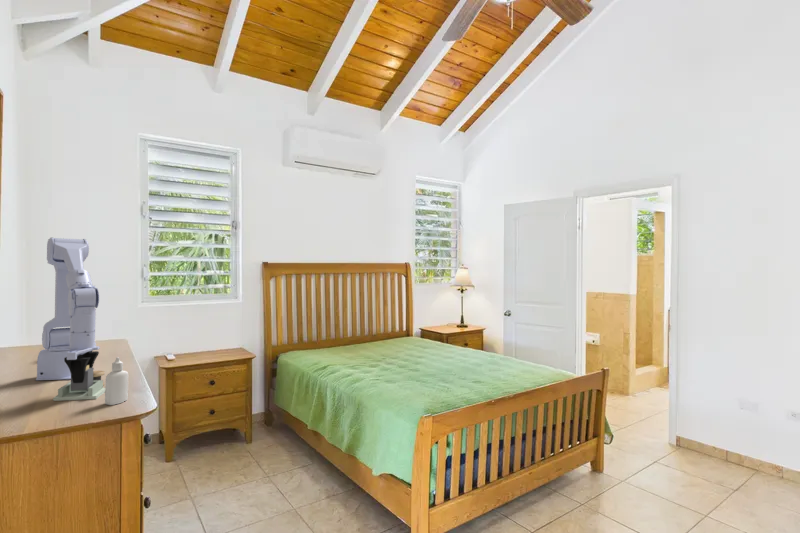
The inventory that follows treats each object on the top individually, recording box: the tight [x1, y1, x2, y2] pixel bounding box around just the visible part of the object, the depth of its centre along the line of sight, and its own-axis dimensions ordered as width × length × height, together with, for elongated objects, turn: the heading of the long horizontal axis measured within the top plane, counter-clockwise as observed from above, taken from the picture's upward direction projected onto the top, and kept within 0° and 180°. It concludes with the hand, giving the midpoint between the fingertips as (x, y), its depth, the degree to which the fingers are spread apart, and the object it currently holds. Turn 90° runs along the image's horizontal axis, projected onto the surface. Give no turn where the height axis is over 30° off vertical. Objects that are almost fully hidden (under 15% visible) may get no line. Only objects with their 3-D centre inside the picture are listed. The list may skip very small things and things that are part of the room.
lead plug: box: [70, 365, 95, 390], centre depth 126 cm, size 4×4×6 cm
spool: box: [93, 370, 105, 387], centre depth 135 cm, size 5×5×4 cm
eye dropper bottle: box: [104, 356, 129, 406], centre depth 121 cm, size 4×6×12 cm
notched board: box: [52, 379, 105, 402], centre depth 126 cm, size 10×8×3 cm
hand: (81, 380), depth 126 cm, fingers closed on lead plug, 4 cm apart
